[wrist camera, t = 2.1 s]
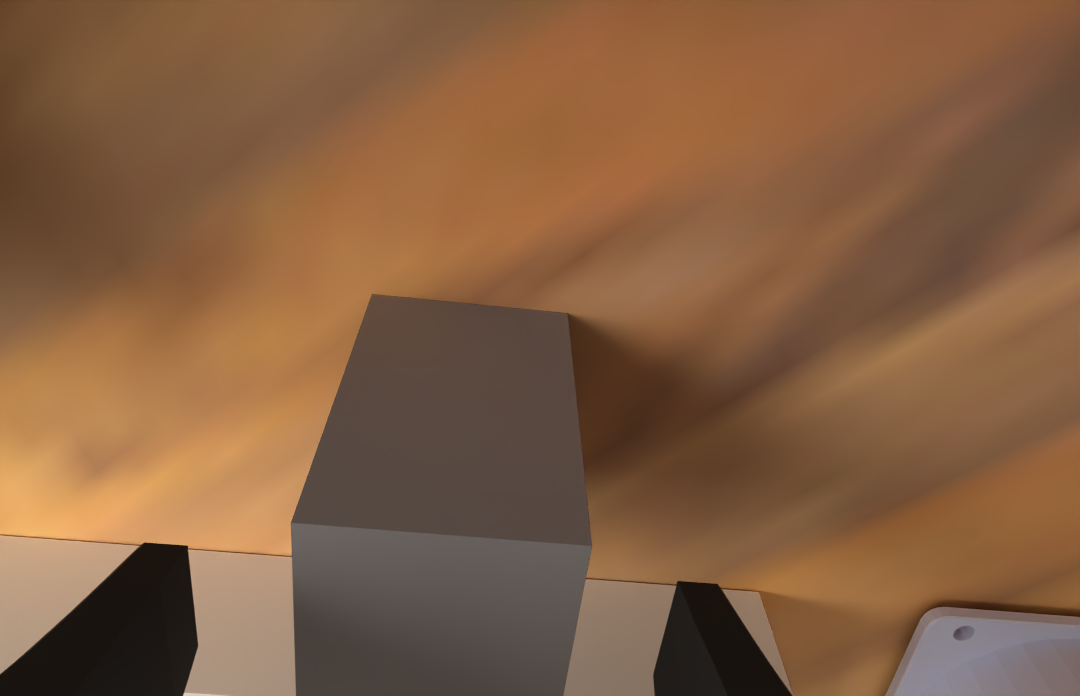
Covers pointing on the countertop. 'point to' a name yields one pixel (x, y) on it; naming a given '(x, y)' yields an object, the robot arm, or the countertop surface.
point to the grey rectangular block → (444, 509)
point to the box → (268, 619)
